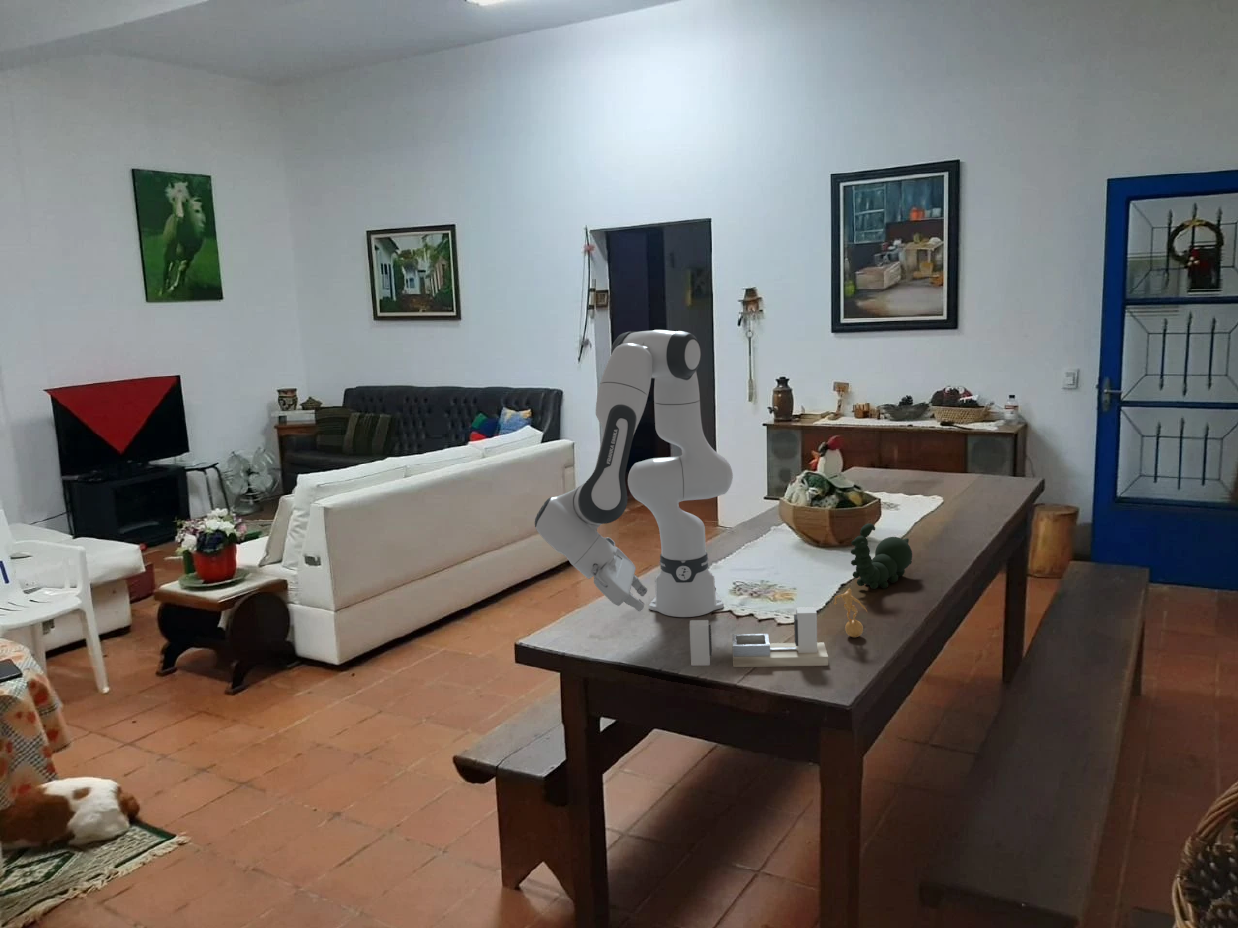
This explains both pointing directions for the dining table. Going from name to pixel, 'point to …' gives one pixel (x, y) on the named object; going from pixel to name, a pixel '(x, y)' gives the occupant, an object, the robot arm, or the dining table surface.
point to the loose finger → (700, 642)
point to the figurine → (852, 626)
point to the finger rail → (782, 646)
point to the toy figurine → (880, 559)
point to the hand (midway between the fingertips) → (643, 600)
